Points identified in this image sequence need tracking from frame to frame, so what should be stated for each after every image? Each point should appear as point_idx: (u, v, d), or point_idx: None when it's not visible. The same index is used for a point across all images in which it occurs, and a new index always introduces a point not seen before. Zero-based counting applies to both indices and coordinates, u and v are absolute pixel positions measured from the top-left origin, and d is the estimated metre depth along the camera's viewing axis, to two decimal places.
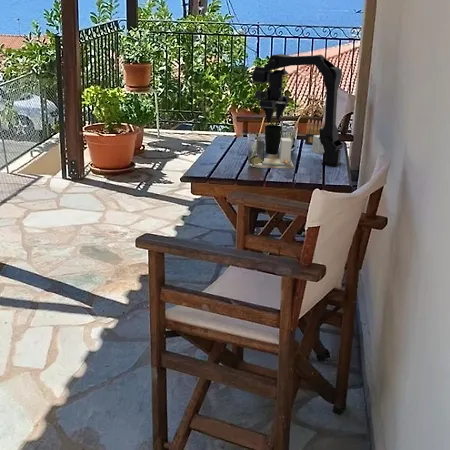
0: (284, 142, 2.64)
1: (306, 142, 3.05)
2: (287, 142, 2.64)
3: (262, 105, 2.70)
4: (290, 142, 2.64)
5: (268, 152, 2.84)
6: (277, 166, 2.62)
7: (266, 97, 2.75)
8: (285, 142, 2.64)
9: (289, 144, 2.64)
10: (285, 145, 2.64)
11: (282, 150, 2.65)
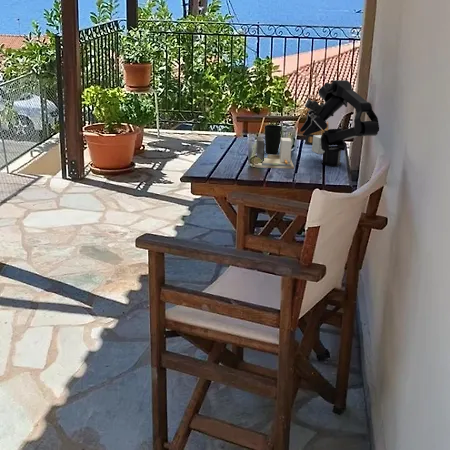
0: (284, 142, 2.64)
1: (306, 142, 3.05)
2: (287, 142, 2.64)
3: (317, 122, 2.57)
4: (290, 142, 2.64)
5: (268, 152, 2.84)
6: (277, 166, 2.62)
7: (317, 112, 2.62)
8: (285, 142, 2.64)
9: (289, 144, 2.64)
10: (285, 145, 2.64)
11: (282, 150, 2.65)
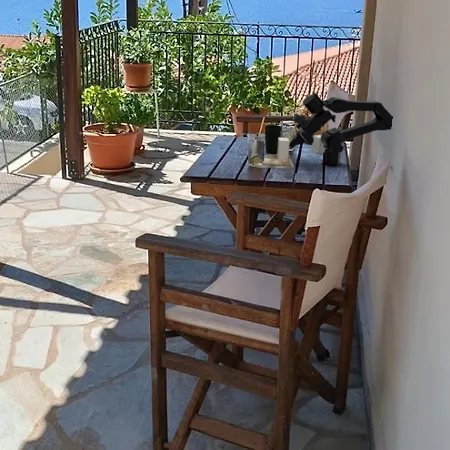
0: (282, 142, 2.64)
1: None
2: (285, 142, 2.64)
3: (304, 136, 2.57)
4: (288, 142, 2.64)
5: (268, 152, 2.84)
6: (277, 166, 2.62)
7: (304, 127, 2.62)
8: (283, 142, 2.64)
9: (287, 144, 2.64)
10: (283, 145, 2.64)
11: (279, 150, 2.65)
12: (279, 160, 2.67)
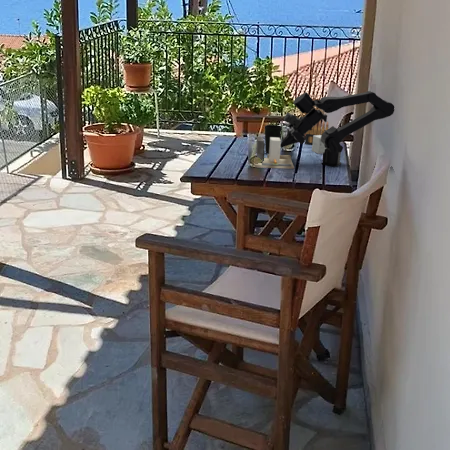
0: (273, 142, 2.64)
1: (306, 142, 3.05)
2: (276, 142, 2.64)
3: (295, 136, 2.57)
4: (279, 142, 2.64)
5: (268, 152, 2.84)
6: (277, 166, 2.62)
7: (295, 126, 2.62)
8: (274, 142, 2.64)
9: (278, 144, 2.64)
10: (274, 145, 2.64)
11: (271, 150, 2.65)
12: (271, 160, 2.66)
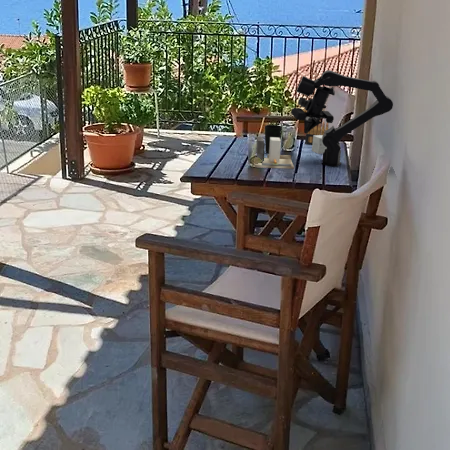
0: (273, 142, 2.64)
1: (306, 142, 3.05)
2: (276, 142, 2.64)
3: (292, 113, 2.64)
4: (279, 142, 2.64)
5: (268, 152, 2.84)
6: (277, 166, 2.62)
7: (305, 108, 2.67)
8: (274, 142, 2.64)
9: (278, 144, 2.64)
10: (274, 145, 2.64)
11: (271, 150, 2.65)
12: (271, 160, 2.66)
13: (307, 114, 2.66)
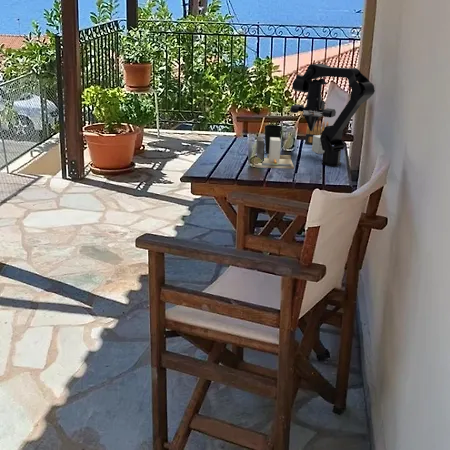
0: (273, 142, 2.64)
1: (306, 142, 3.05)
2: (276, 142, 2.64)
3: None
4: (279, 142, 2.64)
5: (268, 152, 2.84)
6: (277, 166, 2.62)
7: None
8: (274, 142, 2.64)
9: (278, 144, 2.64)
10: (274, 145, 2.64)
11: (271, 150, 2.65)
12: (271, 160, 2.66)
13: (305, 109, 2.74)
